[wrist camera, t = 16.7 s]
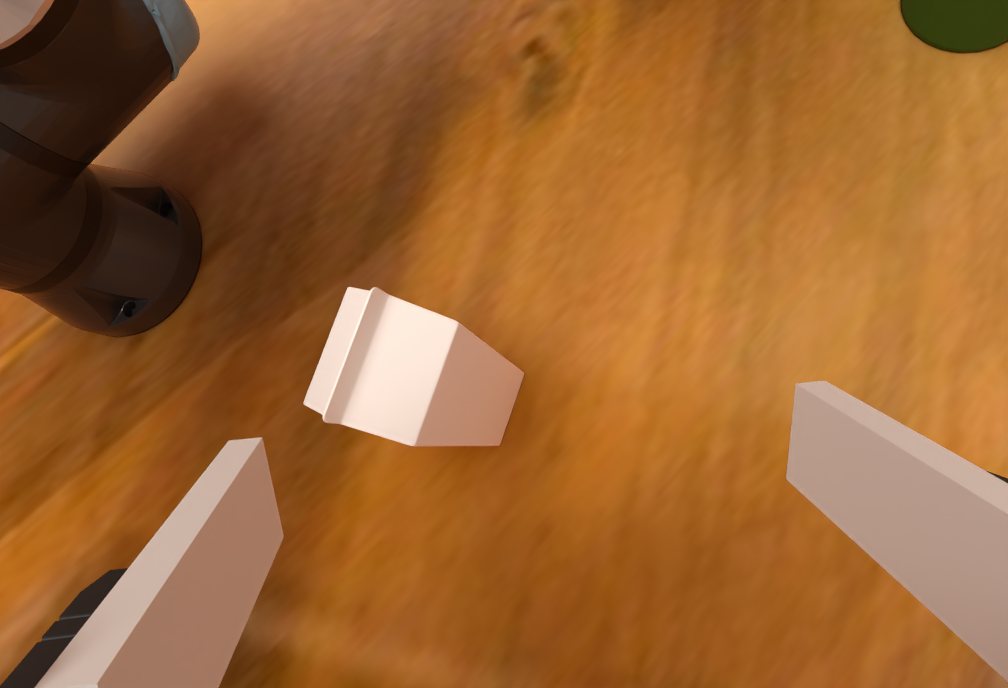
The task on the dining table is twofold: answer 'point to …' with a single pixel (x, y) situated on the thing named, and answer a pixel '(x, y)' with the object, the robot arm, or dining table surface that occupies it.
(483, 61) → the dining table surface
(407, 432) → the milk
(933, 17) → the wine bottle
